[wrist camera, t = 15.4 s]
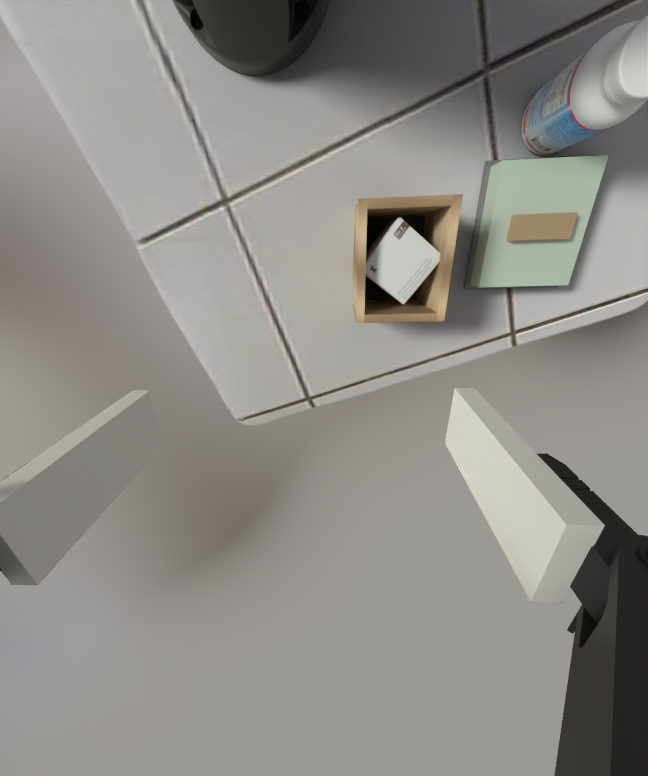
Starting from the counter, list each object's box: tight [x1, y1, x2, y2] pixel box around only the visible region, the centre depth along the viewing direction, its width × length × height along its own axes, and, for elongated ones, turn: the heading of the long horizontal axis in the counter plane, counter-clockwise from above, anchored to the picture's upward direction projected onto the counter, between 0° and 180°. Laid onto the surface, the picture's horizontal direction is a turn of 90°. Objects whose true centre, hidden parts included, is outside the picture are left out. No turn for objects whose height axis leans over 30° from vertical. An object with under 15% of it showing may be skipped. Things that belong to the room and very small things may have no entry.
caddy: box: [353, 194, 463, 323], centre depth 32 cm, size 11×9×9 cm
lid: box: [470, 155, 609, 287], centre depth 32 cm, size 12×10×4 cm
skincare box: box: [366, 217, 440, 304], centre depth 33 cm, size 6×6×7 cm
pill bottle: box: [521, 15, 648, 155], centre depth 25 cm, size 6×6×11 cm
